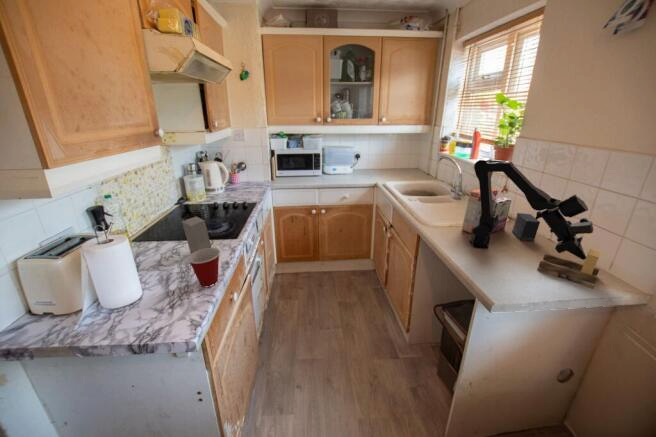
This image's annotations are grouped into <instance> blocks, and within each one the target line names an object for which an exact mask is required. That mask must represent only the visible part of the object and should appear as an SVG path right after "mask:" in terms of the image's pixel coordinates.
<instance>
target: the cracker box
mask: <svg viewBox="0 0 656 437" xmlns="http://www.w3.org/2000/svg"><path fill="white" fill-rule="evenodd" d="M491 189H492V200H495V199H496V198H498V196H497V195H498V193H499V190H498V189H495V188H492V187H491ZM465 208H466V209H465V213H464V217H463V223H462V227H461V230H462V231H465V232H467V233H469V234H473V232H472V229H474V228H475V227H476V226H478V225H479V220H480V216H481V199H480V188H479V189H473V190H469V194H468V199H467V203H466V207H465Z"/></svg>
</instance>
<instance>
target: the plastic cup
mask: <svg viewBox="0 0 656 437" xmlns="http://www.w3.org/2000/svg"><path fill="white" fill-rule="evenodd" d="M220 255H221V252H220V249H218V248H213V247H211V248H207V249H202V250H198V251H196V252H194V253H192V254H191V253H190V254H189V255H188V256H186V261H187V262H188V263H189V264H190V266H191V267H192V269H193V272H194V274H195V276H196V278H197V280H198V282H199V284H200V286H201V285H202V286H210V285H212V284H215V283H216V282H217V281H218V280H219V261H220V260H219V259H220ZM217 283H218V282H217ZM202 286H201V287H202Z"/></svg>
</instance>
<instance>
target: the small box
mask: <svg viewBox="0 0 656 437" xmlns="http://www.w3.org/2000/svg"><path fill="white" fill-rule="evenodd" d="M535 218H536V216H534V215H533V214H531V213H522V212H517V213H516V218H515V221H514V224H513V227H512V231H511V233H513V234H514V236H515V237H516V238H517V239H518V240H519V241H521V242H522V241H523V242H532V243H533V242H535V239H536V236H537V233H538V229H539V227H540V224H541V221H540V220H538V219H535Z"/></svg>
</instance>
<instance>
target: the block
mask: <svg viewBox="0 0 656 437" xmlns="http://www.w3.org/2000/svg"><path fill="white" fill-rule="evenodd" d="M600 254H601V251H600V250H597V249H596V250H595V249H592V248H589V250H588V252H587V255H586V259H584V263H582V264H583V267H582V269H581V273H585V274H588V275H592V273H593V270H594V268H596V266H597V262H598V260H599V258H600Z"/></svg>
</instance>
